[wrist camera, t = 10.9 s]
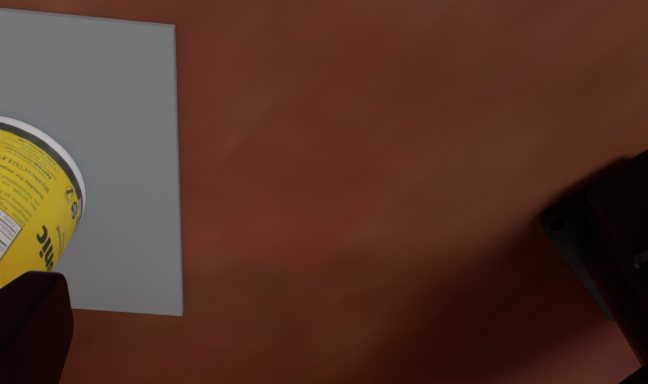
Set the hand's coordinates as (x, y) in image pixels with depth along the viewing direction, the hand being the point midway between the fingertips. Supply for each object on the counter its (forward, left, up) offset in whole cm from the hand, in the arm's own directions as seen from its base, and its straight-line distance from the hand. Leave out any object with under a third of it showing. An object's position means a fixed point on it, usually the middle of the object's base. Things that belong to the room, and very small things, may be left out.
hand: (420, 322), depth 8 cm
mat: (+3, +13, -13) cm, 19 cm away
